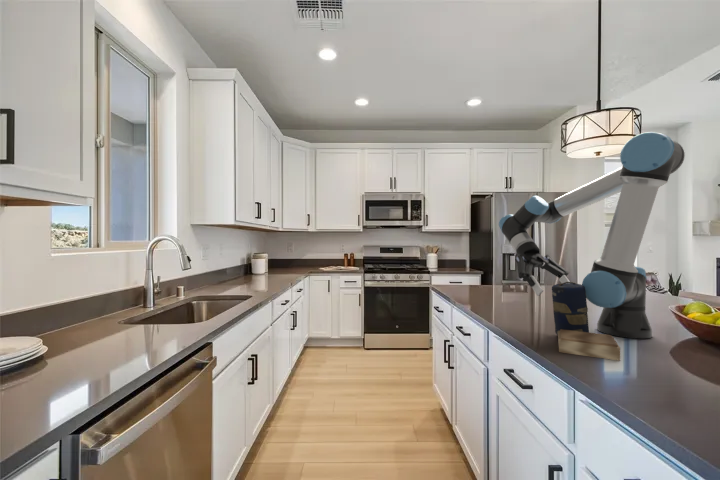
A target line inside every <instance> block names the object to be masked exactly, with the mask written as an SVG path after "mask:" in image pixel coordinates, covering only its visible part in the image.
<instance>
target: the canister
mask: <svg viewBox="0 0 720 480" xmlns="http://www.w3.org/2000/svg"><path fill="white" fill-rule="evenodd" d="M551 297H552V298H551V299H552V309H553V320H554V329H555V330H554V332H555V335H557V336H558V331H560V329H563V330H571V331H580V332H589V333H590V330H589V327H590V325H589V316H588V312H589V311H588V310H589V308H588V302H587V301H588V300H587V298H586V290H585V287H584V286H583V285H582V283H581V284H580V283H576V282H573V281H571V282H565V283H557V284H553V285H552V286H551Z"/></svg>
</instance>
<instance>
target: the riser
mask: <svg viewBox="0 0 720 480" xmlns="http://www.w3.org/2000/svg"><path fill="white" fill-rule="evenodd" d="M557 340H558V341H557V342H558V352H559V353H564V354H570V355H577V356H578V355H579V356H584V357H592V358H597V359H606V360H611V361H612V360H613V361H618V362H619V361H621V347H620V346H619V344H618V342H617V341H616V339H615V337H613V335H610V334H606V333H596V332H590V331H589V332H580V331H571V330H563V329H560V331H558V335H557Z"/></svg>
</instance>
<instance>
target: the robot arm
mask: <svg viewBox="0 0 720 480" xmlns="http://www.w3.org/2000/svg"><path fill="white" fill-rule="evenodd" d="M685 153H686V152H685V149H684V147H683V146H682V145H681V144H680V143H679V142H678V141H676V140H673V138H671V137H670V136H668V135H667V134H666V133H661V132H657V131H648V132H647V131H646V132H643V133H640V134H637V135H635V136H633V137H631V138H630V139H629V140H627V142H626V143H625V144H624V145H623V147H622V148H621V150H620V155H619V159H620V163H621V165H622V166H621V167H618V168H617V169H615V170H614V171H611V172H609V173H607V174H604V175H603V176H601V177H599V178H596V179H595V180H594V179H593V181H591V182H588V183H586V184H584V185H582V186H580V187H578V188H576V189H574V190H572V191H570V192H567V193H565V194H563V195H561V196H559V197H557V198H555V199H553V200H551V201H549V202H547V201H546V200H545V199H543V198H542V197H541V196H539V195H532V196H531V197H530V198H529V199H527V200H526V201H525V203H524V204H523V205H522V206H521V207H520V208H519V209H518V210H517V211H516V212H515V213H514V214H510V213H509V214H506V215H505V216H502V217H501V219H499V222H498V228H499V229H500V231H501V234H503V235H504V237H505V238H506V239H507V241H508V242H509V244H510V246H511V247H512V248H513V250H514V251H515V253H516V254H517V256H516V258H515V262H516V264H517V266H516V267H517V273H518V278H519V279H522V281H523V282H527V284H528V285H529V286H530V287H531V288H532V290H533V291H534V293H535V295H536V296H537V297H538V296H540V295H541V294H542V293H543V292H544V289H543V288H542V286H541V284H540V283H539V281H538V280H537V278H536V277H535V276H534V275H532V271H533V269H536V268H537V269H538V268H540V269H541V270H546V271H547V272H548V273H550V274H552V275H554V276H555V277H557V278H559V279H558V281H559V282H560V284H562V283H565V282H572V281H571V280H570V279H569V277H568V276H569V274H570V272H569V271H568V270H567V269H566V268H564V267H563V266H562V265H560V264H559V262H557V261H556V260H554V259H553V258H552V257H551V256H550V254H546V255H545V256H544V255H542V254H541V252H540V250H541V249H540V248H539V247H538V244H536V242H535V241H534V239H533V238H532V237H531V235H530V234H529V233H528V232H527V230H528V229H530V228H531V226H533V224H535V223H543V224H544V223H545V224H553V223H554V224H555V223H557V222H559V221H560V220H561V219H562V218H563V217H566V216H567V215H568V216H569V215H570V214H573V213H575V212H578V211H580V210H582V209H585V208H586V207H589V206H591V205H593V204H596V203H598V202H600V201H603V200H605V199H607V198H610V197H612V196H614V195H617V194H619V193H620V194H619V197H618V200H617V205H616V207H615V210H614V214H613V217H612V220H611V223H610V226H609V231H608V234H607V237H606V240H605V244H604V247H603V250H602V253H601V256H600V257H598V258H597V259H594V261H593V264H592V268H591V270H590V273H587V274H586V275H585V276H584V278H583V280H582V283H581V285H583V286H584V287H585V290H586V300H587V301H588V302H589V303H591V304H592V305H595V306H597V307H599V308H602V310H601V312H600V315H599V317H598V320H597V323H596V329H597V331H599V332H601V333H602V334H606V335H612V336H614V337H620V338H621V337H622V338H629V339H640V340H641V339H650V338H652V337H653V330H652V326H651V323H650V321H649V318H648V315H647V313H646V305H647V304H646V303H647V302H646V297H647V295H646V294H647V293H646V292H647V279H648V278H647V274H646V270H645V269H644V268H643V267H640V266H636V265H635V261H636V259H637V255H638V252H639V250H640V246H641V243H642V240H643V238H644V234H645V231H646V229H647V224H648V223H649V219H650V215H651V213H652V209H653V206H654V203H655V200H656V196H657V194H658V191H659V188H660V187H662V186H664V185H666V184H668V182H669V181H668V180H669V179H670V176H671V174H673V173H675V172H676V171H678V170H679V169H680V167H681V166H682V165H683V163H684V160H685V156H686V154H685ZM525 263H526V265H525Z"/></svg>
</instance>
